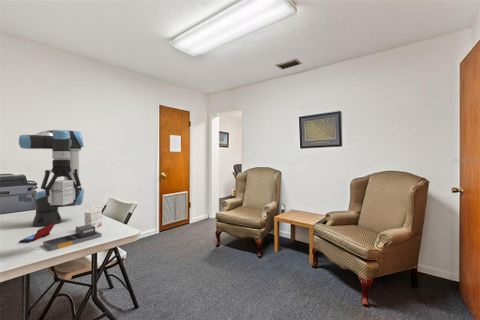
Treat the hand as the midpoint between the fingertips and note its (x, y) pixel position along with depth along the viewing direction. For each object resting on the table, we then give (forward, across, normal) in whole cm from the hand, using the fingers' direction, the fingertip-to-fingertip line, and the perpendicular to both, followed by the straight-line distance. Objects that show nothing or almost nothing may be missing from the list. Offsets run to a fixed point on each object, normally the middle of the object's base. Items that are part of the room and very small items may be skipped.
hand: (62, 200), depth 121 cm
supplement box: (+2, 0, 0) cm, 2 cm away
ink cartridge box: (+23, +20, +12) cm, 32 cm away
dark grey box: (+22, +10, -3) cm, 24 cm away
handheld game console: (+23, -5, +19) cm, 30 cm away
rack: (+23, +4, -3) cm, 23 cm away
